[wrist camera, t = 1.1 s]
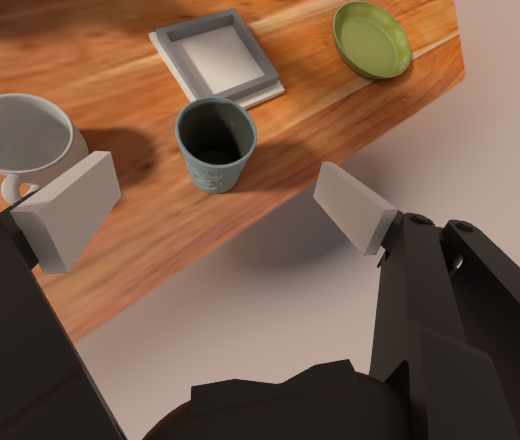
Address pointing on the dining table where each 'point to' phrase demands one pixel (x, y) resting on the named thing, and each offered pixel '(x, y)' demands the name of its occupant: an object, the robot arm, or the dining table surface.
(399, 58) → the saucer
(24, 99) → the teacup
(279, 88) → the tray
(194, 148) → the blue-grey cup
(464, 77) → the dining table surface
